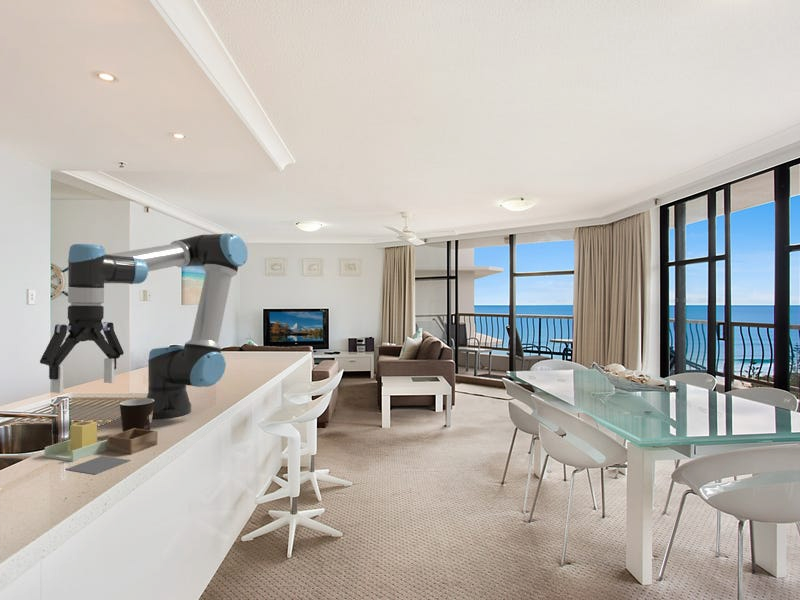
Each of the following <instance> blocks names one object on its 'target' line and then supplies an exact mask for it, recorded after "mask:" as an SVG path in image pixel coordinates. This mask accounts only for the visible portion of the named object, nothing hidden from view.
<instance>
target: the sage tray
mask: <svg viewBox="0 0 800 600" xmlns="http://www.w3.org/2000/svg"><path fill="white" fill-rule="evenodd" d="M105 451H107V439H104V440H99V439H97V443H95V444H91V445H88V446H85V447H82V448H79V449H76V450H73V451H71V453H70V439H67V440H64V441H61V442H57V443H53V444H52V445H51V444H50V445H48V446H45V447H44V458H48V459H53V460H60V461H66V462H72V463H73V462H77V461H79V460H82V459H85V458H88V457H90V456H93V455H95V454H99V453H102V452H105Z"/></svg>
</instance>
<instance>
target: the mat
mask: <svg viewBox="0 0 800 600" xmlns="http://www.w3.org/2000/svg"><path fill="white" fill-rule="evenodd" d="M129 462H131V459H124V458H119V457H118V458H117V457H111V456H104V455H100V456H98V457H95V458H92V459H90V460H88V461H85V462H81V463H79V464H76V465H72V466H70V467H68V468H65V471H70V472H76V473H82V474H88V475H94V476H95V475H99V474H100V473H103V472H106V471H108V470H111V469H114V468H116V467H119V466H122V465H123V464H126V463H129Z"/></svg>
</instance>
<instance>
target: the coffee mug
mask: <svg viewBox="0 0 800 600" xmlns="http://www.w3.org/2000/svg"><path fill="white" fill-rule="evenodd" d="M154 401H155V400H154V399H146V398H133V399H132V398H131V399H126V400H123V401H120V402H119V411H120V419H121V420H120V421H121V427H122V432H124V431H127V430H130V429H133V428H136V429H145V430H151V427H152V422H153V418H152V415H153V408H154Z"/></svg>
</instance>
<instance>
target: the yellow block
mask: <svg viewBox="0 0 800 600" xmlns="http://www.w3.org/2000/svg"><path fill="white" fill-rule="evenodd" d="M69 440H70V453H71V451H73V450H76V449H79V448H82V447H85V446H88V445H91V444H95V443H97V440H98V422H97V421H96V422H95V421H90V420H89V421H88V420H84V421H80V422H76V423H73V424H70V426H69Z"/></svg>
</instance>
